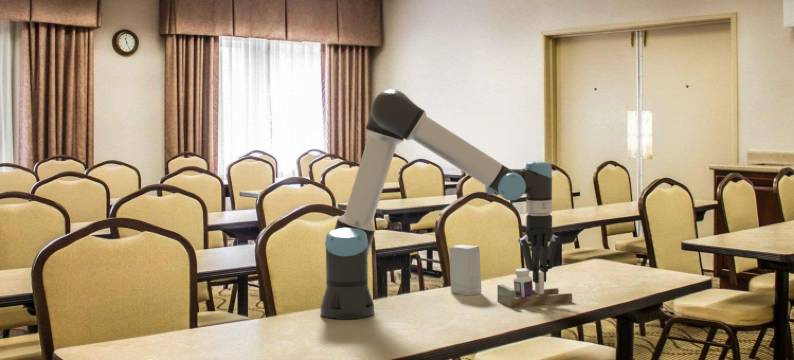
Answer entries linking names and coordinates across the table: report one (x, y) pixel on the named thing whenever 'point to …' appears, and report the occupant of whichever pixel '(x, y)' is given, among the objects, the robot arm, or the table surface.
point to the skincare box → (465, 269)
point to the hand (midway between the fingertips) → (539, 293)
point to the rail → (549, 297)
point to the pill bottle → (523, 283)
